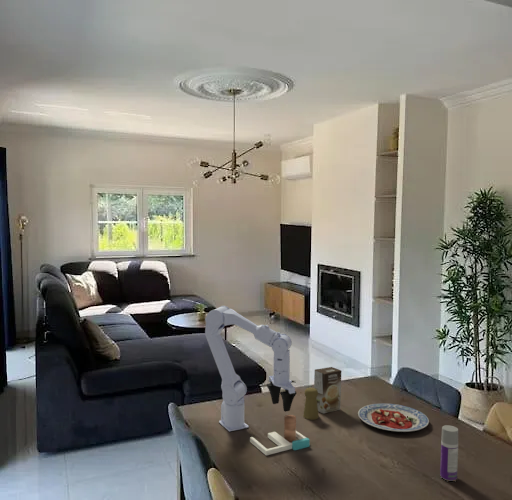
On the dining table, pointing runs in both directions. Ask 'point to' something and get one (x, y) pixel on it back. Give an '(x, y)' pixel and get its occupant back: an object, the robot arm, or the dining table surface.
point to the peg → (290, 428)
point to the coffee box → (328, 389)
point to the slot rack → (281, 443)
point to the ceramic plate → (393, 417)
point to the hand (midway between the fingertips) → (281, 407)
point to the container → (449, 453)
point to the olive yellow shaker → (311, 404)
